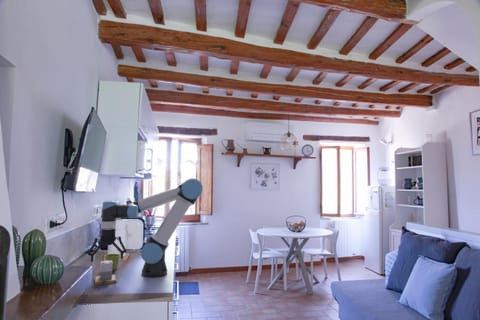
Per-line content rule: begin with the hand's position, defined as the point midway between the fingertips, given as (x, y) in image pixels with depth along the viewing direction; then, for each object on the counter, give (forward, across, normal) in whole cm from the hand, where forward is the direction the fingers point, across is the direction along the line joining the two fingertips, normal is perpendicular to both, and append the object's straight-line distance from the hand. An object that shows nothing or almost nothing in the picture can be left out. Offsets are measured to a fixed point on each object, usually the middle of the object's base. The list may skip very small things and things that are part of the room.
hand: (106, 266), depth 182 cm
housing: (+7, 0, 0) cm, 7 cm away
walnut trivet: (+8, 0, 0) cm, 8 cm away
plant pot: (+8, -4, -24) cm, 26 cm away
